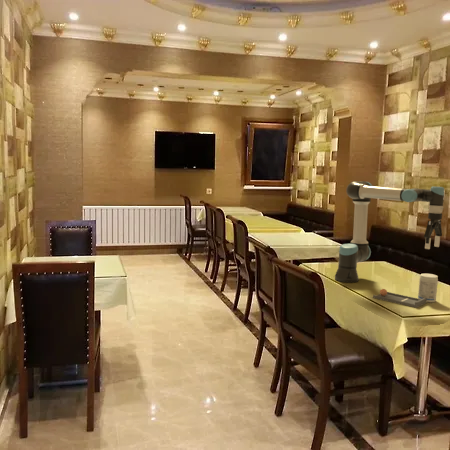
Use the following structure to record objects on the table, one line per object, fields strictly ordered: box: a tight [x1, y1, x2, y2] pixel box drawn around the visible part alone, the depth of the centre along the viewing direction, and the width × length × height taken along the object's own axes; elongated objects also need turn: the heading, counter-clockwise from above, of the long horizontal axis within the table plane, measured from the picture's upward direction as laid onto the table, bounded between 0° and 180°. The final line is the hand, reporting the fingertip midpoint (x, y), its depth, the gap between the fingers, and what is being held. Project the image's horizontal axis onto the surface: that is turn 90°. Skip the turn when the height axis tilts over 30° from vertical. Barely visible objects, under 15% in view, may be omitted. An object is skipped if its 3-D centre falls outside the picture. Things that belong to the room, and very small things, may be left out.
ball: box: [379, 288, 388, 296], centre depth 276 cm, size 4×4×4 cm
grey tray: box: [372, 291, 427, 309], centre depth 270 cm, size 25×14×3 cm, turn 46°
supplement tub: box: [417, 273, 439, 303], centre depth 271 cm, size 10×10×15 cm
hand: (432, 247), depth 287 cm, fingers open, 13 cm apart
